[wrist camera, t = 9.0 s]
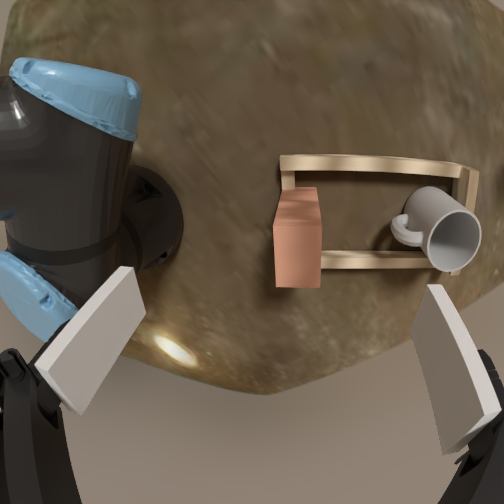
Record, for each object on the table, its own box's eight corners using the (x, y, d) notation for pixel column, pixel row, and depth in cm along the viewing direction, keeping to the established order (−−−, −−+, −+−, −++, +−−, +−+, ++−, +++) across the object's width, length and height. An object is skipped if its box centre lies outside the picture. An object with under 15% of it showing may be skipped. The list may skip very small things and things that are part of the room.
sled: (285, 260, 39) (277, 319, 28) (280, 154, 32) (270, 178, 22) (448, 260, 34) (483, 312, 24) (463, 164, 28) (518, 192, 17)
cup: (447, 234, 33) (476, 267, 25) (383, 242, 35) (401, 279, 27) (449, 183, 29) (484, 206, 22) (380, 189, 32) (402, 215, 24)
